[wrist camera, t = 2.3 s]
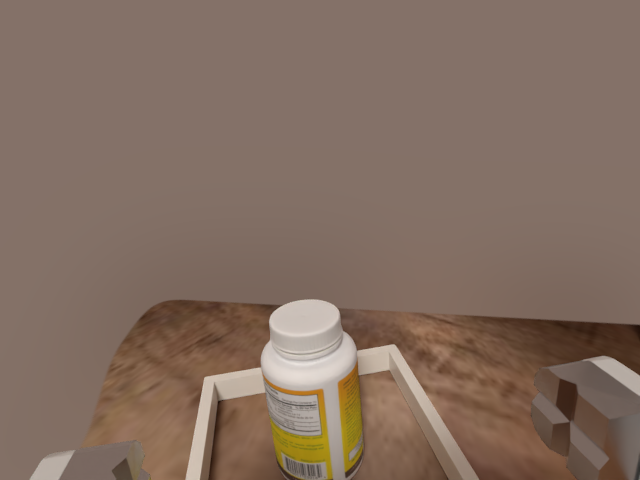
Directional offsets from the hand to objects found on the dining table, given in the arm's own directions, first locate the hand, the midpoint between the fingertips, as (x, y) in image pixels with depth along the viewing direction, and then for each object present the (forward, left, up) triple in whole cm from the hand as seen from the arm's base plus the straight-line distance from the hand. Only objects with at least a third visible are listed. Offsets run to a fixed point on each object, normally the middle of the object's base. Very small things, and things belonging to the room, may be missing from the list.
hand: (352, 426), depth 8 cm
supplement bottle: (0, -13, -15) cm, 20 cm away
